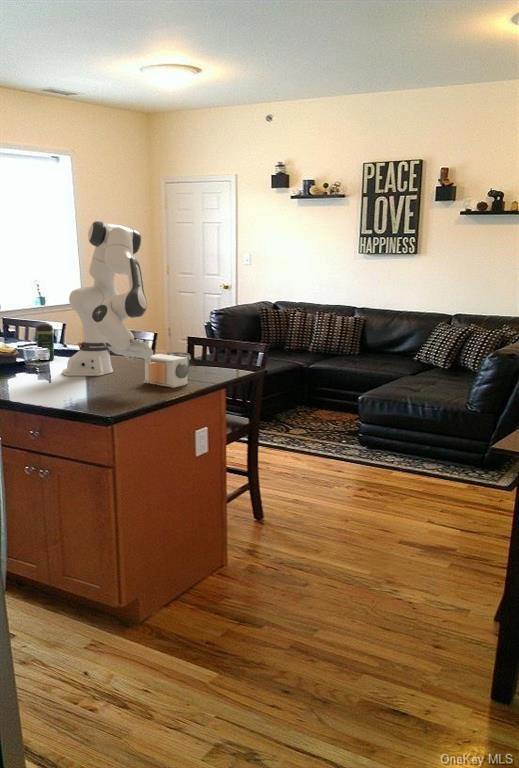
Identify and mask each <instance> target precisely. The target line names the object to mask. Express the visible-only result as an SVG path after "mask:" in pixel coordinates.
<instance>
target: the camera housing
mask: <svg viewBox="0 0 519 768" xmlns="http://www.w3.org/2000/svg"><path fill="white" fill-rule="evenodd" d="M150 359H151V361H155V362H162V363H165V371H166V383H159V382H153V383H150V382H149V369H148V363H146V362H145V361H144V380H143V383H145V384H149V383H150V384H151V385H155V384H156V385H155V386H163V387H166V388H167V387H168V388H177V387H182V386H186V384H187V385H188V383H189V382H188V378H189V376H187V374H188V375H189V369H188V367H187V357H180V356H172V355H166V354H163V353H157V354H156V353H155V354H153V355H152V356H151V358H150Z"/></svg>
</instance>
